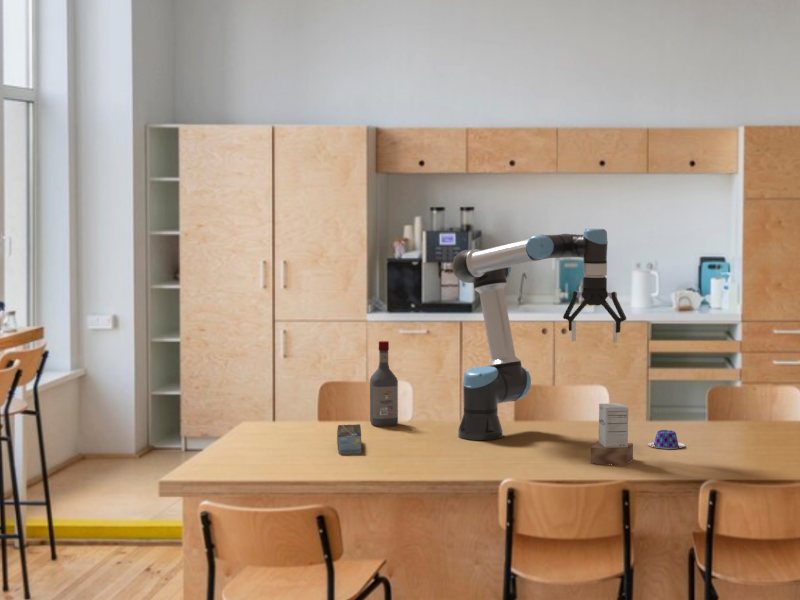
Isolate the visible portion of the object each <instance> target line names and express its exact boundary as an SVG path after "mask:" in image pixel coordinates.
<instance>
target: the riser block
mask: <svg viewBox="0 0 800 600" xmlns="http://www.w3.org/2000/svg"><path fill="white" fill-rule="evenodd" d="M632 459H633V460H634V443H632V442H628V447H623V448H605V447H604V446H603V445H601V444H600V443H599V440H597V441H596V443H594V444H593V445H591V447H590V463H595V464H594V465H603V464H610V465H609V466H616V465H623V466H622V467H628V465H629V464H630V463H631V462H632V461H633V460H632ZM631 460H632V461H631ZM630 461H631V462H630ZM629 462H630V463H629ZM628 463H629V464H628ZM611 464H612V465H611ZM627 464H628V465H627Z"/></svg>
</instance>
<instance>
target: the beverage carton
mask: <svg viewBox="0 0 800 600" xmlns="http://www.w3.org/2000/svg"><path fill="white" fill-rule="evenodd" d="M336 431H337V432H336V439H337V441H336V444H337V451H338V454H339V455H341V454H342V455H345V454H350V455H351V454H352V455H353V454H358V455H359V454H362V428H361V424H338V425H337V429H336Z"/></svg>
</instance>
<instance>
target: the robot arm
mask: <svg viewBox="0 0 800 600" xmlns="http://www.w3.org/2000/svg"><path fill="white" fill-rule="evenodd" d="M608 243H609V242H608V232H607V230H606V229H604V228H585V229H584V230H583V234H577V233H576V234H573V233H572V234H571V233H561V234H538V235H533V236H531V237H530V238H527V239H523V240H522V239H521V240H518V241H515V242H512V243H506V244H503V245H498V246H494V247H490V248H478V249H477V248H474V249H464V250H462V251H460V252H458V253H457V254H456V255H455V256H454V258H453V261H452V268H451V269H452V271H453V274H454V276H455V277H456V278H457V279H458V280H459V281H461V282H463V283H467V284H473V289H474V291H476V292H477V293H478V294H479V298H480V305H481V308H482V309H481V310H482V315H483V322H484V326H485V332H486V337H487V345H488V350H489V355H490V362H489V363H488V365H487V366H485V365H482V366H475V367H471V368H468V369H467V370H465V371H464V374H463V381H462V389H463V391H462V392H463V393H462V395H463V397H462V398H463V400H462V401H463V403H462V404H463V411H462V412H463V414H462V417H461V421H460V423H459V425H458V431H457V433H458V437H459V438H461V439H464V440H470V441H471V440H472V441H473V440H474V441H491V440H499V439H501V438H503V433H504V432H503V427H502V424H501V421H500V419H499V415H498V414H499V413H498V404H502V403H508V402H516V401H518V400H519V401H520V400H521V399H524V398H525V397H526V396H527V395H528V393H529V392H530V390H531V386H532V379H531V378H532V377H531V374H530V372H529V371H528V370H527V368H525V367H523V366H522V360H521V359H519V358H518V357H517V356H516V352H515V347H514V341H513V335H512V329H511V324H510V318H509V312H508V307H507V302H506V296H505V290H504V289H505V288H506V286H507V285H508V283H507V279H508V278H509V276H510V273H511V269H512V267H515V266H519V265H523V264H529V263H532V262H536V261H537V262H538V261H541V260H548V259H557V258H581V259H583V273H582V275H583V276H584V277H583V279H582V280H583V281H582V282H583V284H582V286H583V287H582V288H583V289H582V291H579V290H574V291H573V293H572V299H571V300H570V302H569V305H568V306H567V308H566V309H565V312H564V314H563V315H562V319H564V320H566V321H568V331H569V332H571V342H576V339H577V337H576V335H577V333H576V332H577V328H576V327H577V321H576V320H574V319H576V318H577V316H578V315H579V314H580V313H581V312H582V311H583V310H584V308H585V307H587V305H589V306H602V307H603V308H604V310H606V311H607V312H608V314H609V315H610V317H612V319H613V320H614V322H613V323H612V324H613V326H612V327H613V329H612V331H613V332H612V333H613V336H612V337H613V338H612V343H613V344H616V343H618V333H621V327H622V326H621V323H622V322H624V321H627V316H626V314H625V312H624V309H623V308H622V306H621V303H620V301H619V299H618V293H617V292H616V291H612V292H608V289H607V285H608V284H607V283H608V281H607V279H608V278H607V277H606V276H607V275H608V261H607V258H608ZM580 297H582V298H583V301H582V302H581V304H579V306H577V308H576V309H575V310H574V311H573V309H574V308H575V305H576V302H577V301H578V299H579V298H580ZM608 297H609V299H610V300H612V303H613V306H614V307H615V309H616V311H617V313H618V314H617V313H616V312H615V311H614V310H613V308H612V306H610V304H609V302H608V301H607V298H608ZM572 311H573V312H572ZM571 312H572V314H571ZM570 314H571V315H570Z"/></svg>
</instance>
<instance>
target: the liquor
mask: <svg viewBox="0 0 800 600" xmlns="http://www.w3.org/2000/svg"><path fill="white" fill-rule="evenodd" d="M389 343H390V342H389V341H388V340H381V341H378V351H379V353H378V357H379V358H378V359H379V360H378V367H377V369H376V370H375V371H374V372H373V374H372V375H371V376H370V379H369V422H370V424H371V425H373V426H374V427H378V428H379V427H380V428H381V427H382V428H383V427H394V426H397V424H398V423H399V413H398V412H399V409H398V408H399V401H398V400H399V397H398V396H399V389H398V388H399V383H398V378H397V377H396V375H395V374H394V372H393V371H392V370H391V369H390V366H389V349H390V347H389Z"/></svg>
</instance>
